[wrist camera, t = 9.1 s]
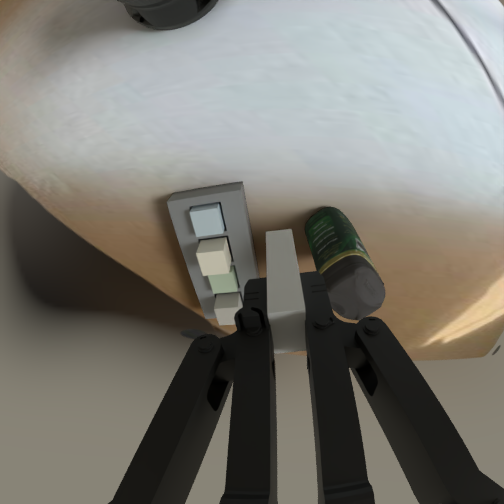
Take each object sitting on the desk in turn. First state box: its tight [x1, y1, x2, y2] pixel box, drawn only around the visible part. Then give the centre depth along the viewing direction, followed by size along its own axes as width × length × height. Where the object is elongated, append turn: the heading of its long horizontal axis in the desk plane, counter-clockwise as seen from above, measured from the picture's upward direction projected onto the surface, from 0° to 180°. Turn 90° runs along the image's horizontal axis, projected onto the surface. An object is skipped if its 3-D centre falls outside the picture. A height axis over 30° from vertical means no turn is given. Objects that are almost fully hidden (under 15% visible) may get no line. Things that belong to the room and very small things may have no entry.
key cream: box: [196, 237, 231, 276], centre depth 46 cm, size 4×4×4 cm
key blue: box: [190, 202, 225, 237], centre depth 45 cm, size 4×4×4 cm
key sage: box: [208, 265, 238, 294], centre depth 51 cm, size 4×4×4 cm
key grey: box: [214, 292, 243, 325], centre depth 52 cm, size 4×4×4 cm
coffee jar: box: [305, 207, 385, 320], centre depth 41 cm, size 10×8×19 cm
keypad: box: [167, 182, 260, 319], centre depth 51 cm, size 26×12×4 cm, turn 9°
